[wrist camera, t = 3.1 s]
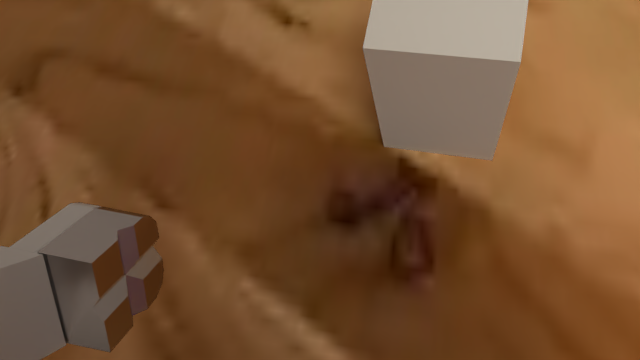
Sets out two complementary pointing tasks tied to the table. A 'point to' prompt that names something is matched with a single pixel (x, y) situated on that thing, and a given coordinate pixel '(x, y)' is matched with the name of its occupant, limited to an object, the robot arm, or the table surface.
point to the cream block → (444, 72)
